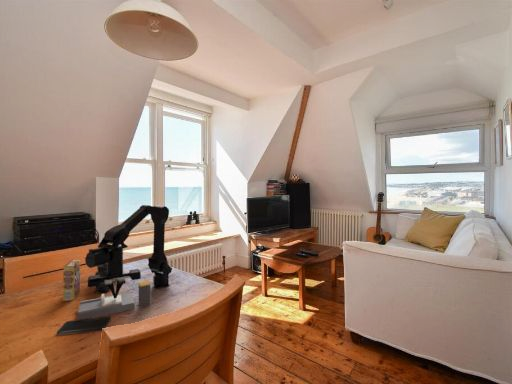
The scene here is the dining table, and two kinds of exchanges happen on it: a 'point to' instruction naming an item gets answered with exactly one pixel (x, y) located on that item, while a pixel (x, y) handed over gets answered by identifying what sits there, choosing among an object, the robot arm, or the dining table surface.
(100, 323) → the phone
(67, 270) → the candy box
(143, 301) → the plug
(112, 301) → the shutter
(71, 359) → the dining table surface
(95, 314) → the socket plate
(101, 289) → the supplement bottle
